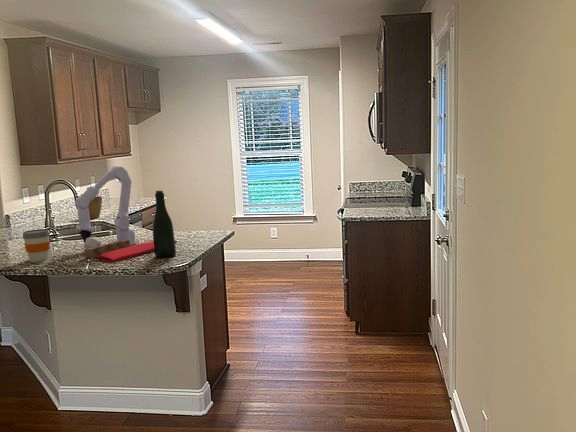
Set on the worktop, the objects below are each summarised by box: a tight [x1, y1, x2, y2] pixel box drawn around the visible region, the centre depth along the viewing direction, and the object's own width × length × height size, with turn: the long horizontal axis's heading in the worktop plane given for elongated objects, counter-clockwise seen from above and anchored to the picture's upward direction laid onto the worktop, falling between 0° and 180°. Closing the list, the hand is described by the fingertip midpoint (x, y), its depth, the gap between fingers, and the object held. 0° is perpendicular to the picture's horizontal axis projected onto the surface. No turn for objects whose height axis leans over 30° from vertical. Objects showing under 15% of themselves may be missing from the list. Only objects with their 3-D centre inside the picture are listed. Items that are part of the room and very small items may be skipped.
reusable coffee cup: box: [22, 228, 51, 263], centre depth 287 cm, size 13×12×15 cm
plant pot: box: [88, 195, 103, 220], centre depth 424 cm, size 15×15×16 cm
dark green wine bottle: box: [152, 189, 177, 259], centre depth 276 cm, size 10×10×33 cm
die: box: [83, 236, 102, 250], centre depth 300 cm, size 8×9×10 cm
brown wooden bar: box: [84, 240, 131, 260], centre depth 294 cm, size 26×3×4 cm, turn 144°
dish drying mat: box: [94, 240, 177, 263], centre depth 292 cm, size 16×41×4 cm, turn 141°
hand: (87, 243), depth 303 cm, fingers closed
